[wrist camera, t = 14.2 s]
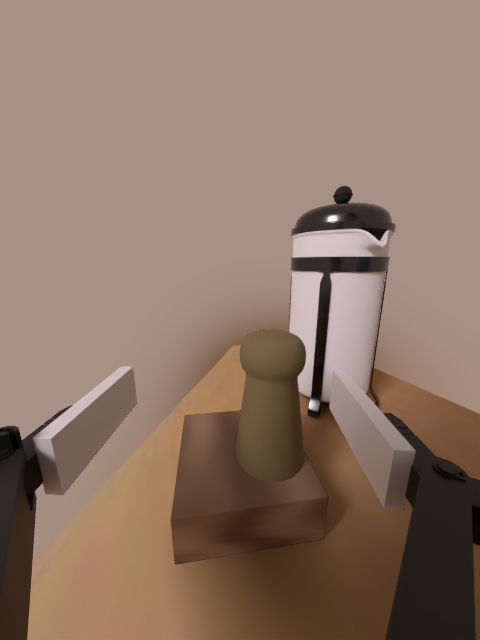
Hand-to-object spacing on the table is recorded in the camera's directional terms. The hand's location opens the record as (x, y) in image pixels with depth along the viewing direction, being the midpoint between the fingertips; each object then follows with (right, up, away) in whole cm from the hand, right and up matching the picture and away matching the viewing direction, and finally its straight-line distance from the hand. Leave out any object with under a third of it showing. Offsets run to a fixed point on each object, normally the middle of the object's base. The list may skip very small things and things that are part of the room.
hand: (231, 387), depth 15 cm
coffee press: (+13, -7, +23) cm, 28 cm away
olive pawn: (+3, -7, +6) cm, 10 cm away
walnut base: (+1, -11, +7) cm, 13 cm away
